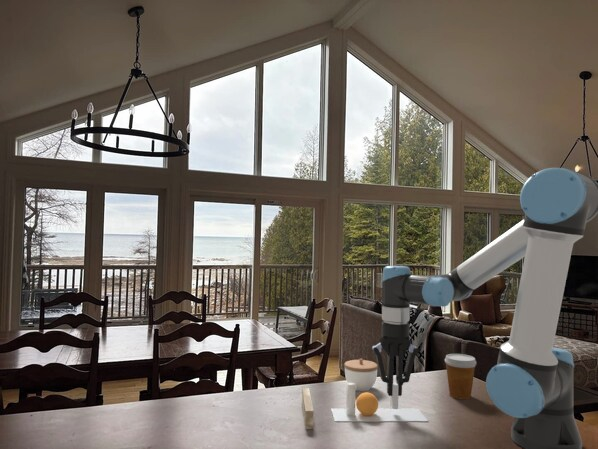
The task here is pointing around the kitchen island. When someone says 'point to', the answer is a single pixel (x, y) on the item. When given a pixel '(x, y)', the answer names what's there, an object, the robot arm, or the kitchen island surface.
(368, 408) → the ball
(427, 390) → the kitchen island surface
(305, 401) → the backstop
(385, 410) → the plate
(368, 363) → the lidded jar
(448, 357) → the disposable coffee cup
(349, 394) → the pin
